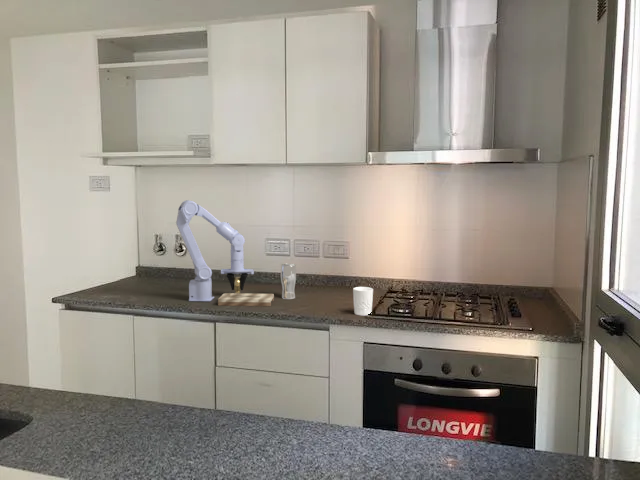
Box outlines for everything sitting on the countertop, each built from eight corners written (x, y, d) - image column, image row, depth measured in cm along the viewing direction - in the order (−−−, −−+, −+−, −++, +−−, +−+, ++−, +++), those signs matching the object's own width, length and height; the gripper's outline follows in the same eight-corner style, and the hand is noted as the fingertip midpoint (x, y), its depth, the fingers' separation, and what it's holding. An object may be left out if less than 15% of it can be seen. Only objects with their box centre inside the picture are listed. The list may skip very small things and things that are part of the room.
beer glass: (294, 299, 231) (294, 266, 229) (278, 299, 232) (278, 265, 231) (297, 296, 238) (297, 263, 236) (283, 295, 239) (283, 263, 238)
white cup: (352, 315, 203) (352, 290, 202) (353, 310, 211) (353, 286, 210) (372, 316, 202) (372, 290, 201) (373, 311, 209) (373, 287, 208)
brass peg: (232, 298, 234) (232, 278, 233) (234, 296, 238) (233, 276, 237) (241, 298, 234) (241, 278, 233) (242, 296, 238) (242, 276, 237)
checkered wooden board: (218, 305, 219) (218, 299, 219) (224, 299, 231) (224, 293, 231) (270, 306, 218) (270, 299, 218) (273, 300, 230) (273, 293, 230)
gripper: (254, 258, 238) (254, 288, 239) (223, 258, 238) (223, 287, 239) (252, 260, 231) (252, 291, 232) (219, 260, 231) (220, 290, 232)
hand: (237, 289), depth 235 cm, fingers closed on brass peg, 4 cm apart
